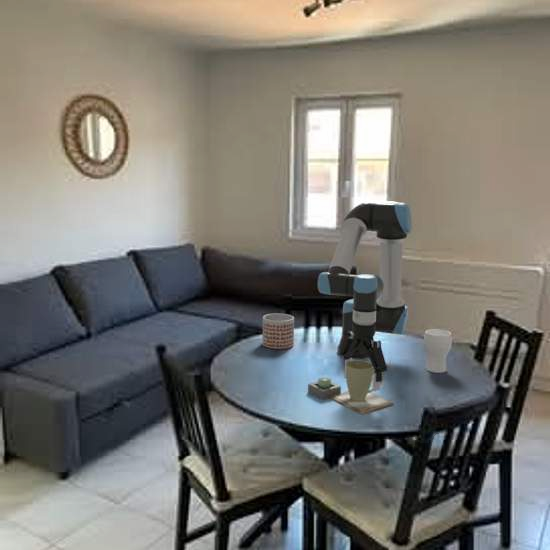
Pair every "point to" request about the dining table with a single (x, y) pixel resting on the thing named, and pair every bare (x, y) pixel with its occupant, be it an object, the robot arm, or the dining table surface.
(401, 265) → the robot arm
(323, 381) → the button
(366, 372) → the mug
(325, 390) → the button housing
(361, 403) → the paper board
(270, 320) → the planter
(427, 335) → the cup
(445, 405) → the dining table surface
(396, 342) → the dining table surface
